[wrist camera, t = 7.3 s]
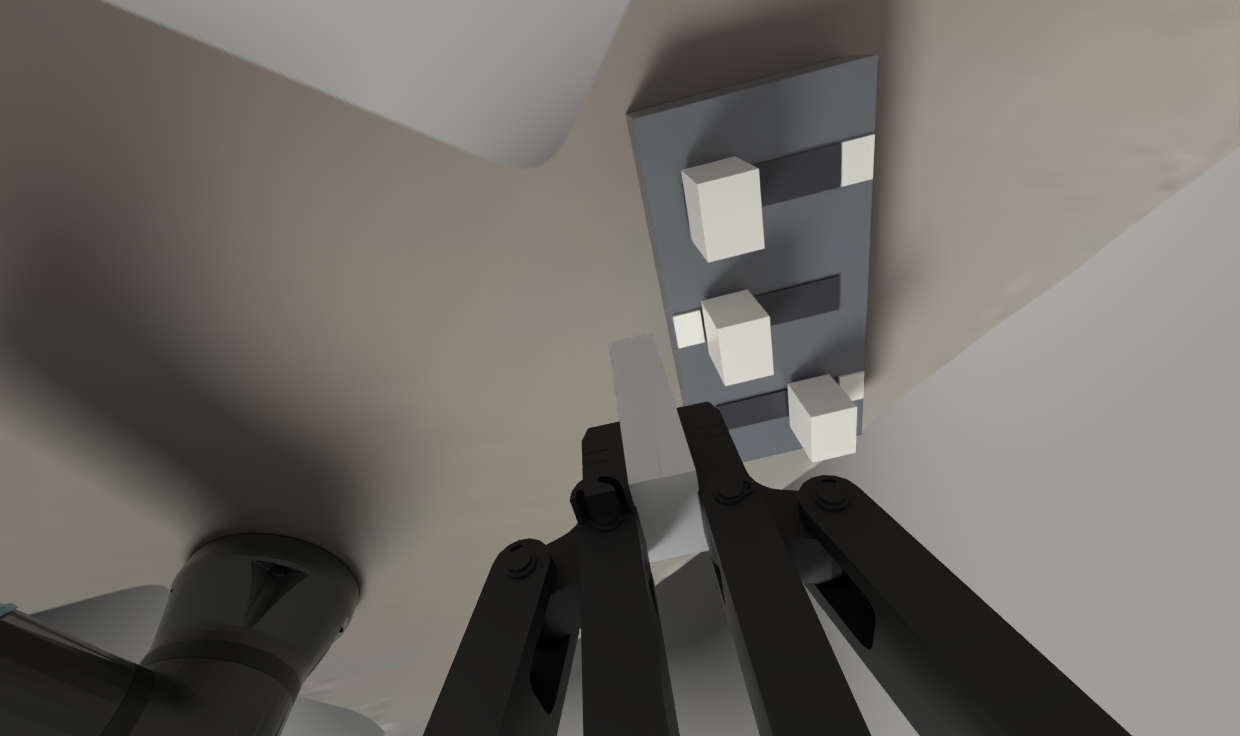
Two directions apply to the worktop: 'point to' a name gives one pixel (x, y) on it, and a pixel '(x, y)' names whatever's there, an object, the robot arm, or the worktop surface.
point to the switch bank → (770, 233)
